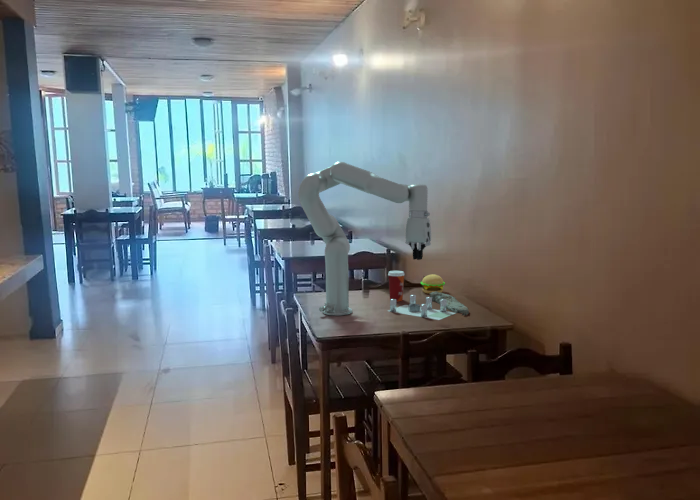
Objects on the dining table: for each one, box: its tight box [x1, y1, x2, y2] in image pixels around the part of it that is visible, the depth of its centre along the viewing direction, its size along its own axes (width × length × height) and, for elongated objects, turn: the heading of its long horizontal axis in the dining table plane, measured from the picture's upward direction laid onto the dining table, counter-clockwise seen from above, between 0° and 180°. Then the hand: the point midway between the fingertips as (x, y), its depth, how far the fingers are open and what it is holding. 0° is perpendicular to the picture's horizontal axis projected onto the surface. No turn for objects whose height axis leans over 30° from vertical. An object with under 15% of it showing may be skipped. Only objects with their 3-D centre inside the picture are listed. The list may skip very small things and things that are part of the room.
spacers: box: [389, 294, 447, 318], centre depth 246 cm, size 15×20×5 cm
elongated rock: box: [429, 291, 469, 316], centre depth 259 cm, size 35×5×10 cm
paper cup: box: [387, 270, 406, 302], centre depth 267 cm, size 8×8×14 cm
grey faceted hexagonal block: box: [407, 303, 421, 312], centre depth 247 cm, size 4×5×2 cm
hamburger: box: [420, 273, 446, 295], centre depth 288 cm, size 12×12×9 cm
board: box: [387, 304, 456, 321], centre depth 245 cm, size 14×25×1 cm, turn 52°
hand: (417, 259), depth 243 cm, fingers closed
